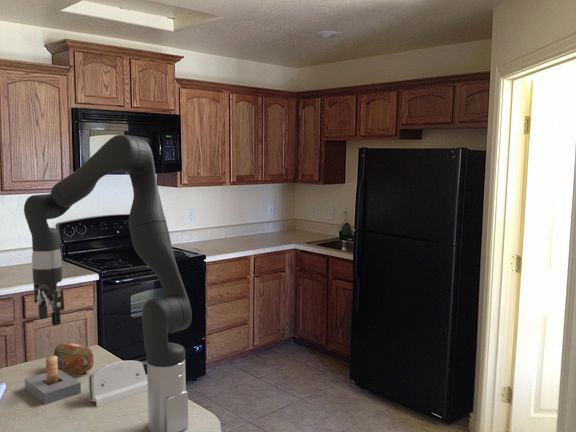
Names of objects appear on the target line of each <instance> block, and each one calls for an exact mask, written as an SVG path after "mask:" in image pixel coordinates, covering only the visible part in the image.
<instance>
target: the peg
mask: <svg viewBox="0 0 576 432" xmlns="http://www.w3.org/2000/svg"><path fill="white" fill-rule="evenodd" d="M45 366H46V367H45V370H46V372H45V373H47V385H51V384H54V383H58V369H59V367H58V359H57V356H54V355H48V356H46V358H45Z"/></svg>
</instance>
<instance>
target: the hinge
mask: <svg viewBox="0 0 576 432" xmlns="http://www.w3.org/2000/svg"><path fill="white" fill-rule="evenodd" d="M145 392H148V384H147V373H146V371H145V367H144V364H143V362H142V361H139V360H121V361H115V362H112V363H108V364H106V365H104V366H101V367H100V368H99V369H96V370H95V371H93V372H92V373H91V374H89V376H88V398H89V402H95V405H96V407H97V408H98V407H101V406H104V405H107V404H110V403H113V402H117V401H120V400H123V399H126V398H128V397H133V396H136V395H138V394H141V393H145Z"/></svg>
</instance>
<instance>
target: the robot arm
mask: <svg viewBox="0 0 576 432" xmlns="http://www.w3.org/2000/svg"><path fill="white" fill-rule="evenodd" d="M117 171H119V172H123V173H128V175H129V177H130V181H131V186H132V191H133V198H132V199H133V200H132V204H131V207H130V211H129V217H128V228H129V229H128V230H129V234H130V237H131V241H132V245H133V249H134V251H135V252H136V254H137V256H139V258H140V259H141V260H142V261H143V262H144V264H146V265H147V267H148V268H149V269H150V270H152V271H153V273H154V274H155V276H156V277H157V278H158V280H159V282H160V285H161V287H162V290H163V294H164V295H163V296H162V295H161V296H158V297H153V298H150V299H147V300H146V301H145V303H144V305H143V306H142V307H143V308H142V312H141V313H142V316H141V317H142V318H141V320H142V328H143V329H142V332H143V345H144V350H145V354H146V365H147V366H146V368H147V369H146V370H147V371H146V372H147V373H146V377H147V384H148V391H147V417H148V418H147V419H148V422H147V424H148V425H147V426H148V430H149V432H182V431H184V430H186V429H188V428H189V400H188V399H189V398H188V397H189V394H188V391H187V390H186V389H187V388H186V385H187V382H186V349H185V347H184V346H183V345H181V344H179V343H175V342H169V340H168V338H169V337H168V335H169V334H173V333H176V332H180V331H183V330H185V329H188V328H189V327H190V325H191V324H192V318H193V312H192V306H191V303H190V299H189V297H188V293H187V291H186V288H185V284H184V283H183V279H182V276H181V274H180V271H179V267H178V264H177V261H176V257H175V253H174V249H173V246H172V241H171V236H170V232H169V228H168V224H167V220H166V215H165V213H164V210H163V205H162V200H161V196H160V193H159V192H160V191H159V188H158V187H159V186H158V182H157V174H156V168H155V160H154V155H153V151H152V147H150V145H149V143H148V142H146V141H145V140H143V139H141V138H138V137H134V136H129V135H127V134H126V135H125V134H116V135H114V136H113V137H111V138H110V139H108V140H107V141H106V142H105V143H104V144H103V145H102V146H101V147H99V149H98V150H97V151H95V153H94V154H93V155H92V156H91V157H89V159H87V161H85V162H84V163H83V164H82V165H81V166H80V167H79V168H78V169H76V170H75V171H73V172H72V173H70V174H69V175H67V176H66V177H64V178H63V179H61V180H60V181H58V182H57V183H55V184H54V185H53V186H52V188H51V191H50V193H46V194H45V193H44V194H43V193H42V194H33V195H31V196H29V197H27V198H26V200H25V203H24V205H23V214H24V218H25V220H26V223H27V226H28V229H29V232H30V235H31V242H32V243H31V244H32V245H31V247H32V255H31V264H32V265H31V266H32V267H31V268H32V269H31V270H32V282H33V302H34V303H35V304H36V306H37V307H38V319H39V320H46V319H48V314H49V313H48V307H49V309H50V317H51V325H52V326H58V325H59V326H60V325H61V322H62V321H61V312H62V311H64V310H65V301H64V299H65V297H64V289H63V288H59V289H58V283H61V282H62V280H63V267H62V265H63V263H62V254H61V245H60V244H61V241H60V231H59V229H57V228H54V227H50V225H49V223H48V220H54V219H57V218H59V217H61V216H63V215H64V214H65V213H66V212H67V211H68V210H69V209H70V208H71V207H72V206H74V205H75V204H77V203H78V202H79V201H81V200H83V199H84V198H86V197H87V196H88V195H90V194H91V193H92V192H93V190H94V189H95V187H96V185H97V184H98V181H100V179H102V178H103V177H105V176H106V175H109V174H111V173H113V172H117Z"/></svg>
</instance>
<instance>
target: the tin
mask: <svg viewBox="0 0 576 432" xmlns="http://www.w3.org/2000/svg"><path fill="white" fill-rule="evenodd" d="M53 356H57V359H58V369H60V370H61V371H66V372H70V373H75V374H78V375H81V374H85V373H87V372H90V371H91V369H92V368H93V367H94V354H93V351H92V349H90V347H88V346H87V345H81V344H77V343H71V342H64V343H60V344H58V345H57V346H56V347H55V349H54V352H53Z"/></svg>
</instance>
